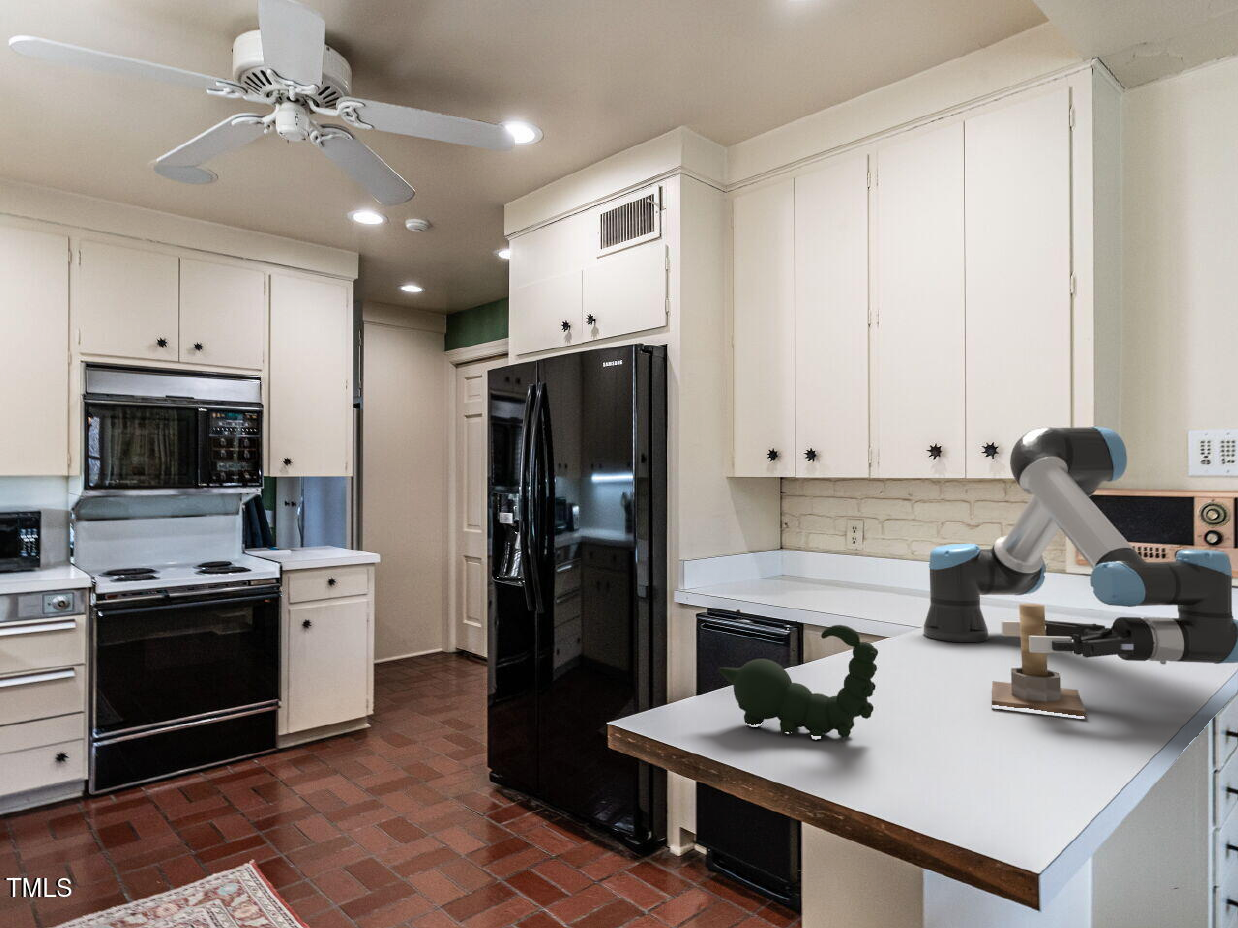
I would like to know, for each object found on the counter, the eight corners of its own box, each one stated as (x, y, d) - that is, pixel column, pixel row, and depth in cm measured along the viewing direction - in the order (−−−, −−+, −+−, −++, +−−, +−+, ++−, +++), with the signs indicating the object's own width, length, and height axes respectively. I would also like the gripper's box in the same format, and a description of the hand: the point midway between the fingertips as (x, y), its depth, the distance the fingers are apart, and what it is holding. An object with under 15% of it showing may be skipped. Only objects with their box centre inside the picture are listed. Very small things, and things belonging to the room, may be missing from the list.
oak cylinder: (1023, 696, 133) (1019, 606, 134) (1023, 690, 137) (1018, 603, 137) (1049, 698, 131) (1044, 607, 132) (1048, 693, 135) (1043, 604, 136)
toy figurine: (872, 743, 119) (722, 709, 130) (882, 625, 119) (731, 601, 130) (865, 763, 111) (705, 726, 121) (875, 637, 110) (714, 610, 121)
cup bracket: (991, 708, 131) (991, 677, 131) (992, 688, 144) (992, 660, 144) (1085, 720, 125) (1084, 687, 125) (1077, 698, 137) (1077, 668, 137)
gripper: (1186, 679, 119) (1043, 674, 123) (1110, 644, 144) (992, 641, 147) (1185, 631, 119) (1042, 628, 123) (1109, 605, 144) (992, 603, 147)
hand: (1015, 635), depth 135 cm, fingers open, 13 cm apart
